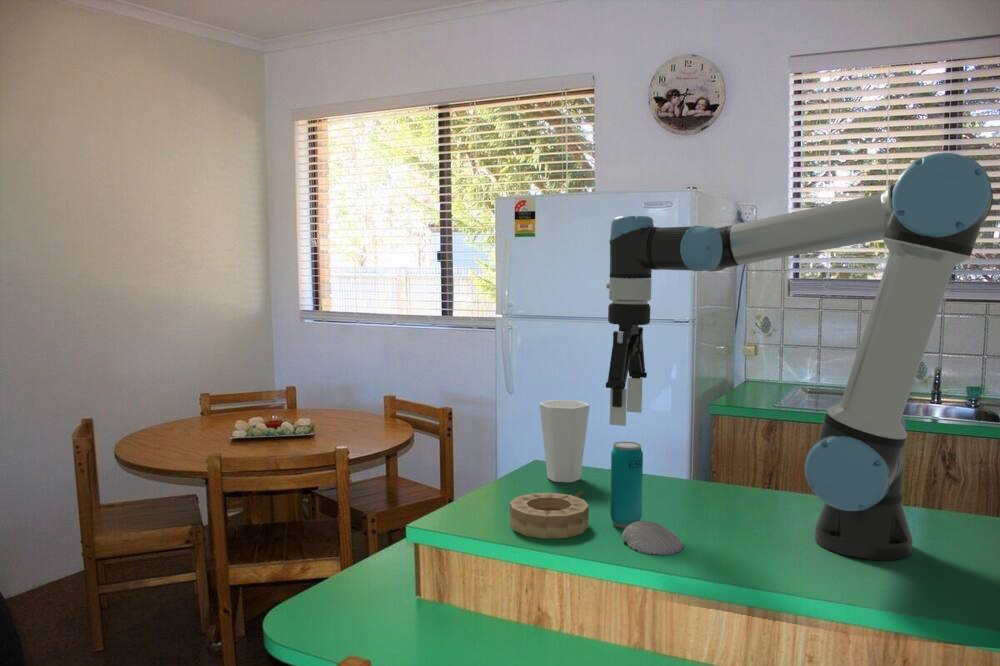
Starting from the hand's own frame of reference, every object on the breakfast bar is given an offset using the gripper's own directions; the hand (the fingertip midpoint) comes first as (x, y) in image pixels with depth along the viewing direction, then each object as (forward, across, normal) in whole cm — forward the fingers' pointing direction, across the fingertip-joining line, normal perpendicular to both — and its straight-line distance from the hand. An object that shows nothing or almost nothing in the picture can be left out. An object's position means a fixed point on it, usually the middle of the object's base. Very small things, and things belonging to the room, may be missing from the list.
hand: (626, 418), depth 141 cm
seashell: (+20, +8, +7) cm, 23 cm away
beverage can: (+20, 0, 0) cm, 20 cm away
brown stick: (+20, -8, -12) cm, 25 cm away
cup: (+20, -26, -20) cm, 38 cm away
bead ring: (+20, +6, -12) cm, 24 cm away
